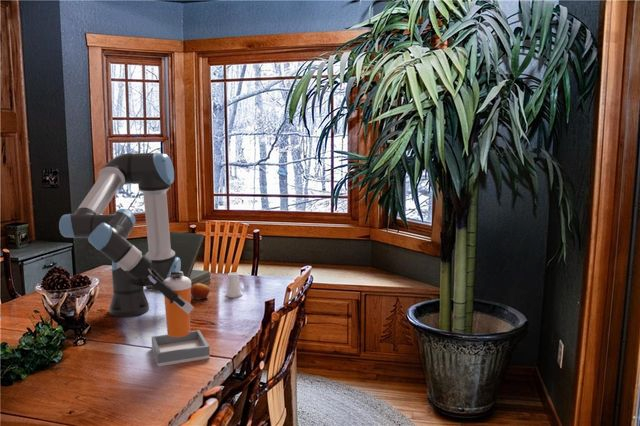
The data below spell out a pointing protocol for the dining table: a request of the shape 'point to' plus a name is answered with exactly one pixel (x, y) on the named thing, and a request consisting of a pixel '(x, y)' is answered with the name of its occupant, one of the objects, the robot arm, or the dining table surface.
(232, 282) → the white cup
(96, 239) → the robot arm
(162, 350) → the tray
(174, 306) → the shaker bottle
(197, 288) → the fruit
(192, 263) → the grey angled stand
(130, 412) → the dining table surface
